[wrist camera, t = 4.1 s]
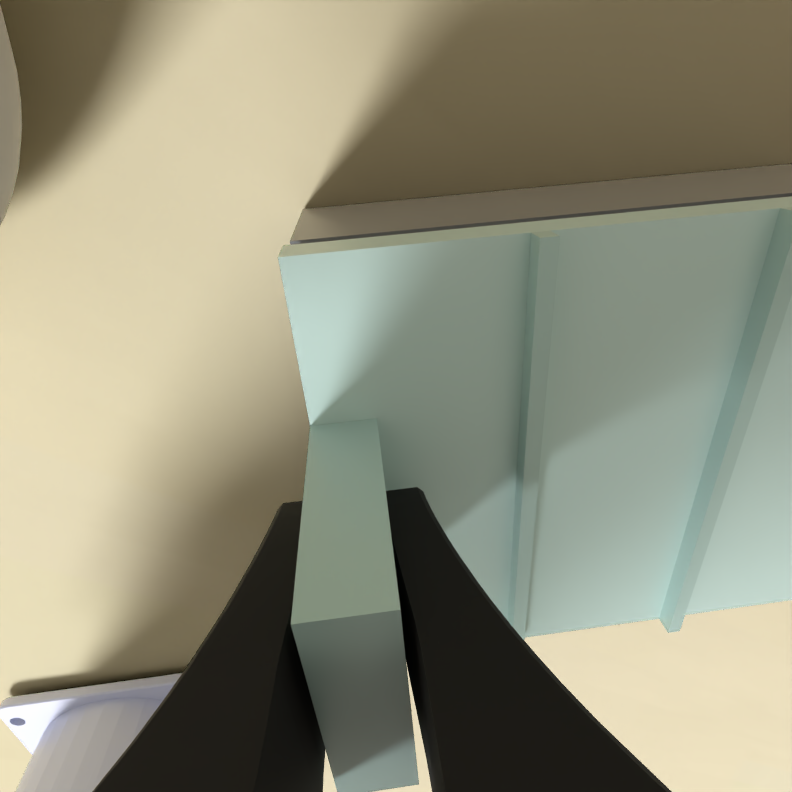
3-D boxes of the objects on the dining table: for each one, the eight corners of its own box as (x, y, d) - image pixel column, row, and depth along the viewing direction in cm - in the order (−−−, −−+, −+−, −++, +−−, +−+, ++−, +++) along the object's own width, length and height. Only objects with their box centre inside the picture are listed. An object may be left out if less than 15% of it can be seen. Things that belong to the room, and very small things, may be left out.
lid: (970, 178, 9) (1558, 232, 4) (788, 572, 14) (987, 773, 9) (283, 245, 8) (222, 380, 4) (353, 632, 13) (360, 875, 9)
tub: (798, 162, 12) (955, 177, 9) (702, 484, 17) (782, 563, 14) (303, 209, 11) (290, 240, 8) (353, 528, 16) (356, 621, 13)
